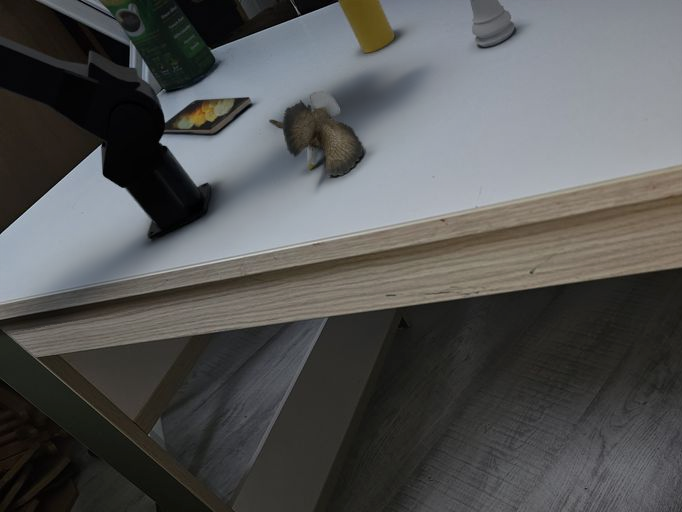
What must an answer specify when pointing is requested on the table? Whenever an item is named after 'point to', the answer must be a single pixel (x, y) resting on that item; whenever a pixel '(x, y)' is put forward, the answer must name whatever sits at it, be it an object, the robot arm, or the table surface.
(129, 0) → the coffee jar
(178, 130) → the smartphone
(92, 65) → the robot arm
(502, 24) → the rook chess piece
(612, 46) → the table surface
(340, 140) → the eagle figurine
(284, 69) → the table surface
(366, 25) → the yellow cylindrical tube
